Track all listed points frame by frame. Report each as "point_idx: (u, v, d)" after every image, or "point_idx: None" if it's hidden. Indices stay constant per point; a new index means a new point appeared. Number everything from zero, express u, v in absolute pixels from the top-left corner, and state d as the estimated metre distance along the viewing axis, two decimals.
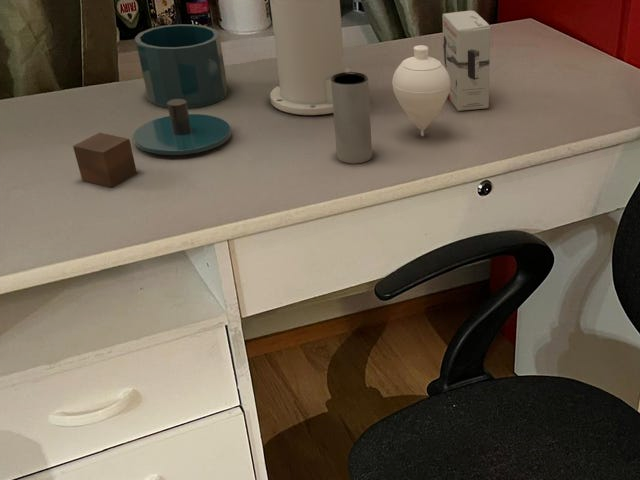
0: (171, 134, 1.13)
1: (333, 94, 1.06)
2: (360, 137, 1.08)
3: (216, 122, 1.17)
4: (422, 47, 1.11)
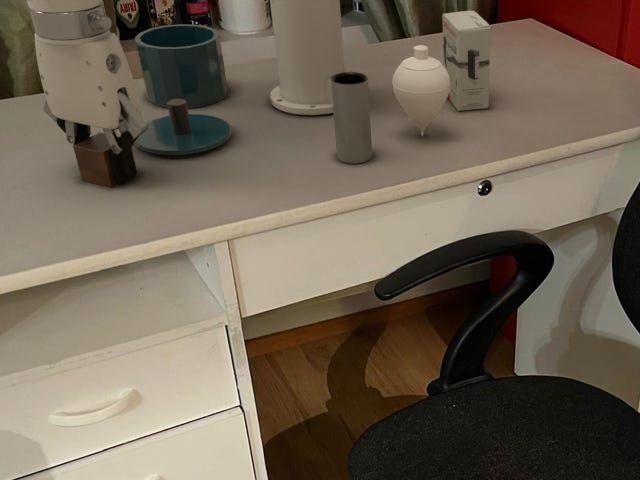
0: (171, 134, 1.13)
1: (333, 94, 1.06)
2: (360, 137, 1.08)
3: (216, 122, 1.17)
4: (422, 47, 1.11)
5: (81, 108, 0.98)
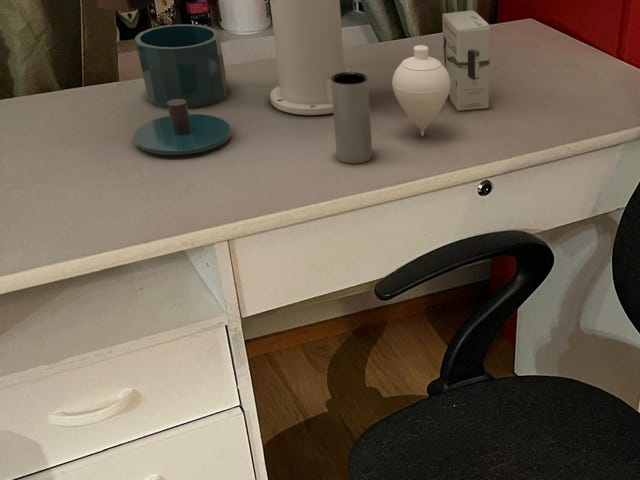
0: (171, 134, 1.13)
1: (333, 94, 1.06)
2: (360, 137, 1.08)
3: (216, 122, 1.17)
4: (422, 47, 1.11)
5: None
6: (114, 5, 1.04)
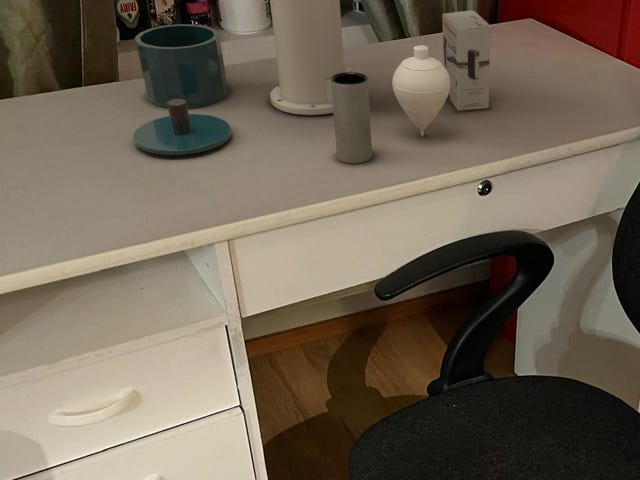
0: (171, 134, 1.13)
1: (333, 94, 1.06)
2: (360, 137, 1.08)
3: (216, 122, 1.17)
4: (422, 47, 1.11)
5: None
6: None
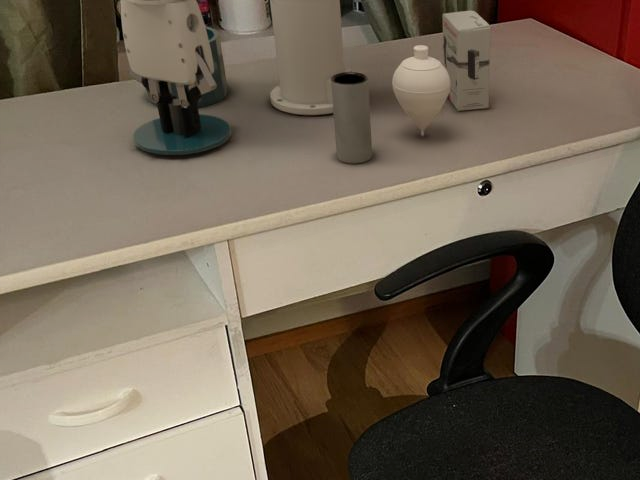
0: (171, 134, 1.13)
1: (333, 94, 1.06)
2: (360, 137, 1.08)
3: (216, 122, 1.17)
4: (421, 46, 1.11)
5: (161, 65, 1.06)
6: None
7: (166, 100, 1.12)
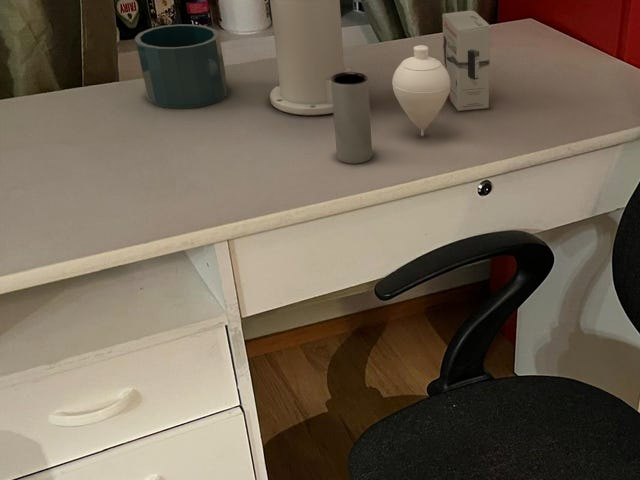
0: None
1: (333, 94, 1.06)
2: (360, 137, 1.08)
3: None
4: (422, 47, 1.11)
5: None
6: None
7: None
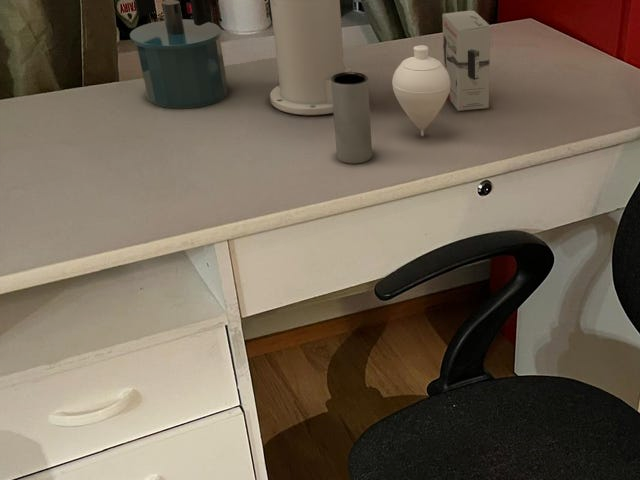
0: (165, 33, 1.22)
1: (333, 94, 1.06)
2: (360, 137, 1.08)
3: (207, 25, 1.25)
4: (421, 47, 1.11)
5: None
6: None
7: None
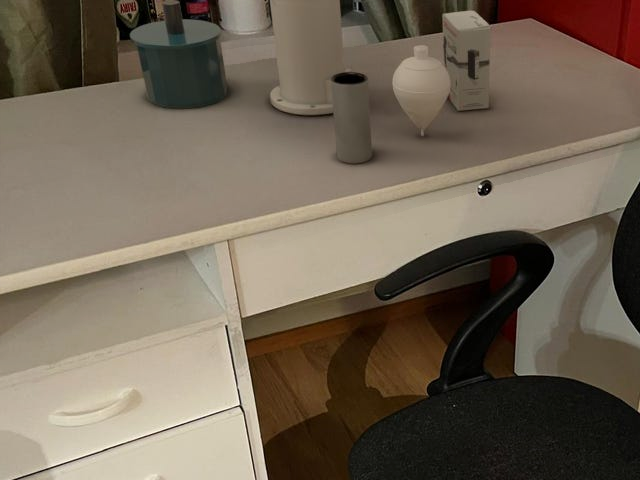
0: (165, 33, 1.22)
1: (333, 94, 1.06)
2: (360, 137, 1.08)
3: (207, 25, 1.25)
4: (422, 47, 1.11)
5: None
6: None
7: None
